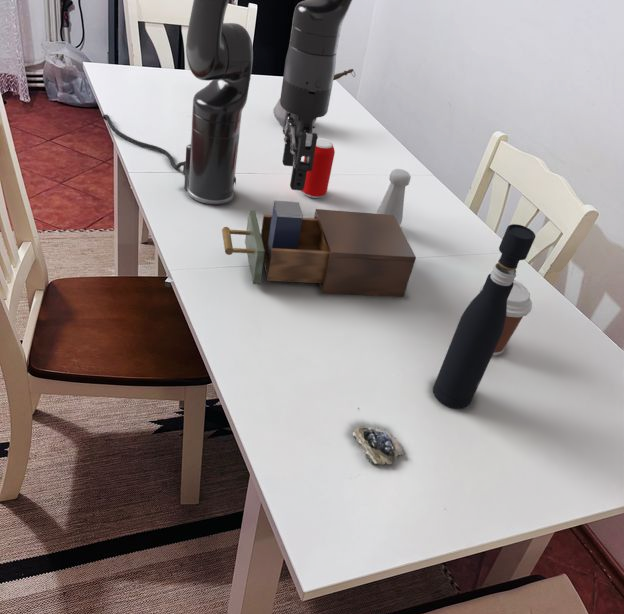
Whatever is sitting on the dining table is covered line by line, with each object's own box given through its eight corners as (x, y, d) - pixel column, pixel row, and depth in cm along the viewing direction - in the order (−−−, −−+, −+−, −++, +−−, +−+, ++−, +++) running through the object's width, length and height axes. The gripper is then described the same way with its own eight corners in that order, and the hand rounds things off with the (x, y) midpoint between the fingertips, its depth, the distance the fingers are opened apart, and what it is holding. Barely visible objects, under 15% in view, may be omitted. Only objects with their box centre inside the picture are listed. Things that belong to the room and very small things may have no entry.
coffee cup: (459, 323, 120) (480, 268, 113) (506, 332, 121) (531, 279, 113) (463, 355, 113) (487, 299, 106) (514, 364, 114) (541, 310, 106)
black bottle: (429, 378, 106) (492, 215, 87) (466, 382, 107) (537, 222, 89) (436, 407, 101) (504, 240, 83) (475, 411, 103) (551, 248, 84)
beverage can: (320, 203, 144) (330, 151, 137) (294, 193, 145) (302, 141, 137) (329, 192, 149) (340, 142, 141) (304, 183, 150) (313, 133, 142)
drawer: (224, 283, 113) (228, 249, 108) (218, 240, 123) (221, 207, 118) (333, 287, 119) (341, 255, 114) (319, 246, 128) (326, 215, 124)
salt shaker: (396, 237, 140) (413, 181, 131) (371, 229, 140) (385, 173, 132) (401, 225, 144) (417, 170, 136) (375, 217, 144) (390, 162, 136)
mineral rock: (380, 475, 89) (384, 466, 88) (338, 439, 92) (341, 430, 91) (410, 451, 93) (414, 442, 92) (369, 418, 97) (372, 409, 95)
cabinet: (321, 293, 118) (331, 252, 113) (307, 248, 129) (315, 208, 123) (403, 296, 123) (416, 257, 117) (383, 252, 134) (394, 214, 128)
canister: (269, 265, 118) (277, 213, 111) (266, 251, 121) (273, 200, 114) (293, 266, 119) (303, 215, 113) (290, 252, 122) (299, 202, 116)
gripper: (277, 59, 104) (264, 155, 114) (291, 93, 93) (276, 196, 104) (323, 66, 106) (307, 160, 116) (341, 99, 96) (322, 199, 106)
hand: (292, 176), depth 110 cm, fingers open, 8 cm apart
